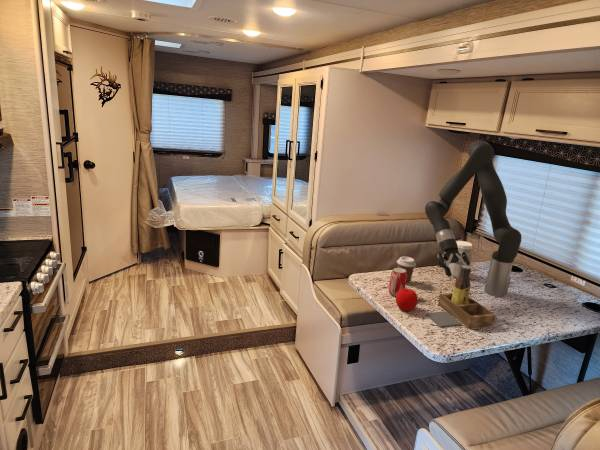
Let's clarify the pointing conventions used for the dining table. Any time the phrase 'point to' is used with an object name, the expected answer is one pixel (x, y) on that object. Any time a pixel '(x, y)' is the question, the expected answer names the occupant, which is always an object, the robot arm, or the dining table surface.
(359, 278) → the dining table surface
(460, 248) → the jar
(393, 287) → the soda can
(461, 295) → the sauce bottle
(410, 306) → the fruit
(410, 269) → the coffee cup
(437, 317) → the coaster
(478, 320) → the caddy
